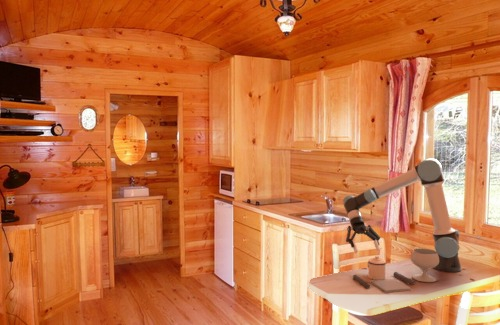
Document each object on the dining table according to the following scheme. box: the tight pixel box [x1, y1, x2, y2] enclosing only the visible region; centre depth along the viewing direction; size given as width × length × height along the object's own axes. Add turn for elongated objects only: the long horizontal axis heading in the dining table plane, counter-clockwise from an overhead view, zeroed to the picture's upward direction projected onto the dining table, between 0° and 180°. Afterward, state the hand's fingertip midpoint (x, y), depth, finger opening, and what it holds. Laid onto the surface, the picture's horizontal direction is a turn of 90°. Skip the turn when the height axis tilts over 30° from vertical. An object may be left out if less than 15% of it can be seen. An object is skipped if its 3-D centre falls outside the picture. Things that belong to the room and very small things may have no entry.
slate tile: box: [370, 278, 412, 293], centre depth 209 cm, size 14×14×1 cm
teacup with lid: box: [367, 255, 387, 281], centre depth 223 cm, size 12×9×12 cm
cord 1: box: [352, 274, 371, 289], centre depth 213 cm, size 15×2×2 cm, turn 13°
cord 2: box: [393, 271, 414, 286], centre depth 218 cm, size 15×2×2 cm, turn 13°
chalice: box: [410, 248, 439, 283], centre depth 220 cm, size 14×14×15 cm
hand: (367, 251), depth 230 cm, fingers open, 13 cm apart
